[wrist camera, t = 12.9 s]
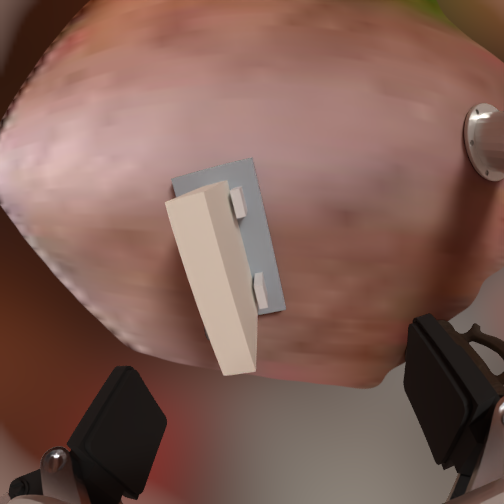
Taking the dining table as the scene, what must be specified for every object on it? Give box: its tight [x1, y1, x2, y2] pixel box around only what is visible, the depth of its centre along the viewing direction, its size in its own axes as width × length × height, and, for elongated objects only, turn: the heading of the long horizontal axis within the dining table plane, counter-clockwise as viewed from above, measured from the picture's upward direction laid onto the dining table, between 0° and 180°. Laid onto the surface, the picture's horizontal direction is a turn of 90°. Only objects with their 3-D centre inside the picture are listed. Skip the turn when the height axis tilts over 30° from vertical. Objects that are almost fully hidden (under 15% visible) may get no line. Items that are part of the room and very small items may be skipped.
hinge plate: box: [171, 158, 286, 315], centre depth 34 cm, size 10×20×6 cm, turn 13°
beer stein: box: [405, 320, 504, 398], centre depth 32 cm, size 15×11×20 cm
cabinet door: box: [165, 180, 258, 376], centre depth 29 cm, size 4×16×14 cm, turn 13°
